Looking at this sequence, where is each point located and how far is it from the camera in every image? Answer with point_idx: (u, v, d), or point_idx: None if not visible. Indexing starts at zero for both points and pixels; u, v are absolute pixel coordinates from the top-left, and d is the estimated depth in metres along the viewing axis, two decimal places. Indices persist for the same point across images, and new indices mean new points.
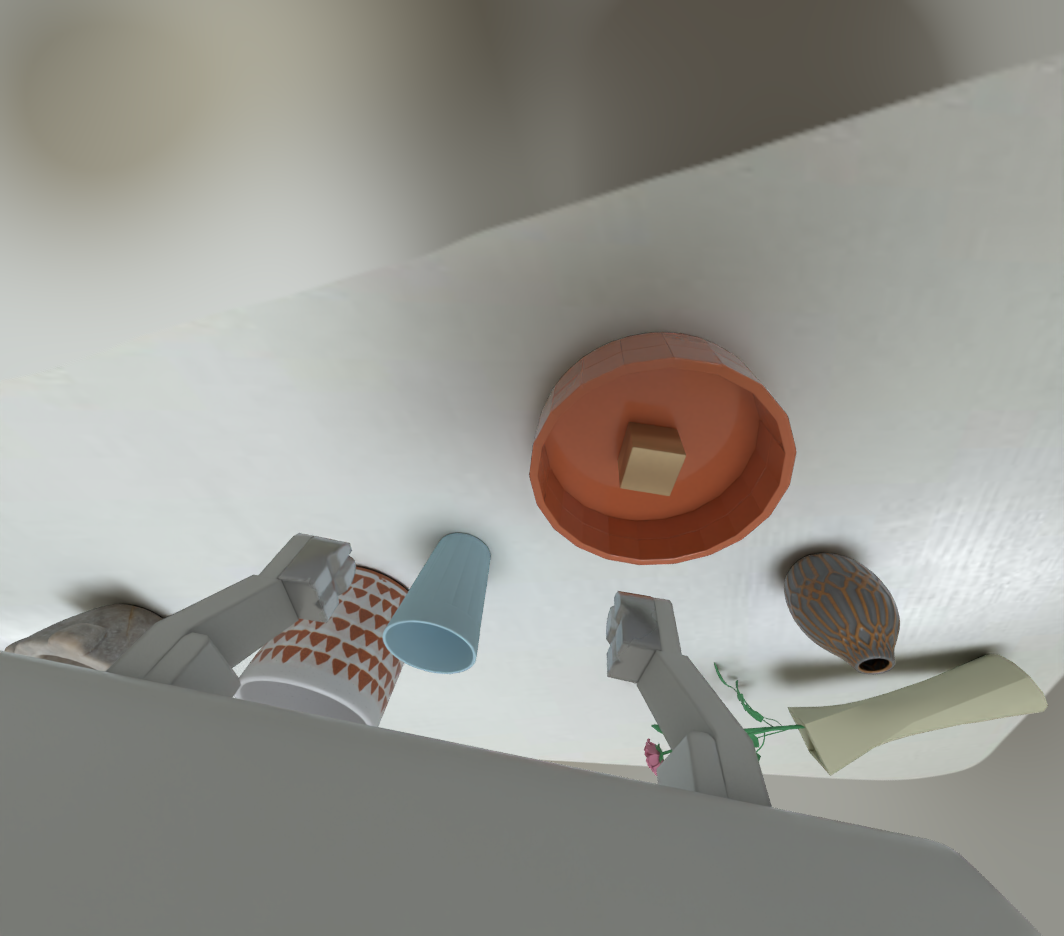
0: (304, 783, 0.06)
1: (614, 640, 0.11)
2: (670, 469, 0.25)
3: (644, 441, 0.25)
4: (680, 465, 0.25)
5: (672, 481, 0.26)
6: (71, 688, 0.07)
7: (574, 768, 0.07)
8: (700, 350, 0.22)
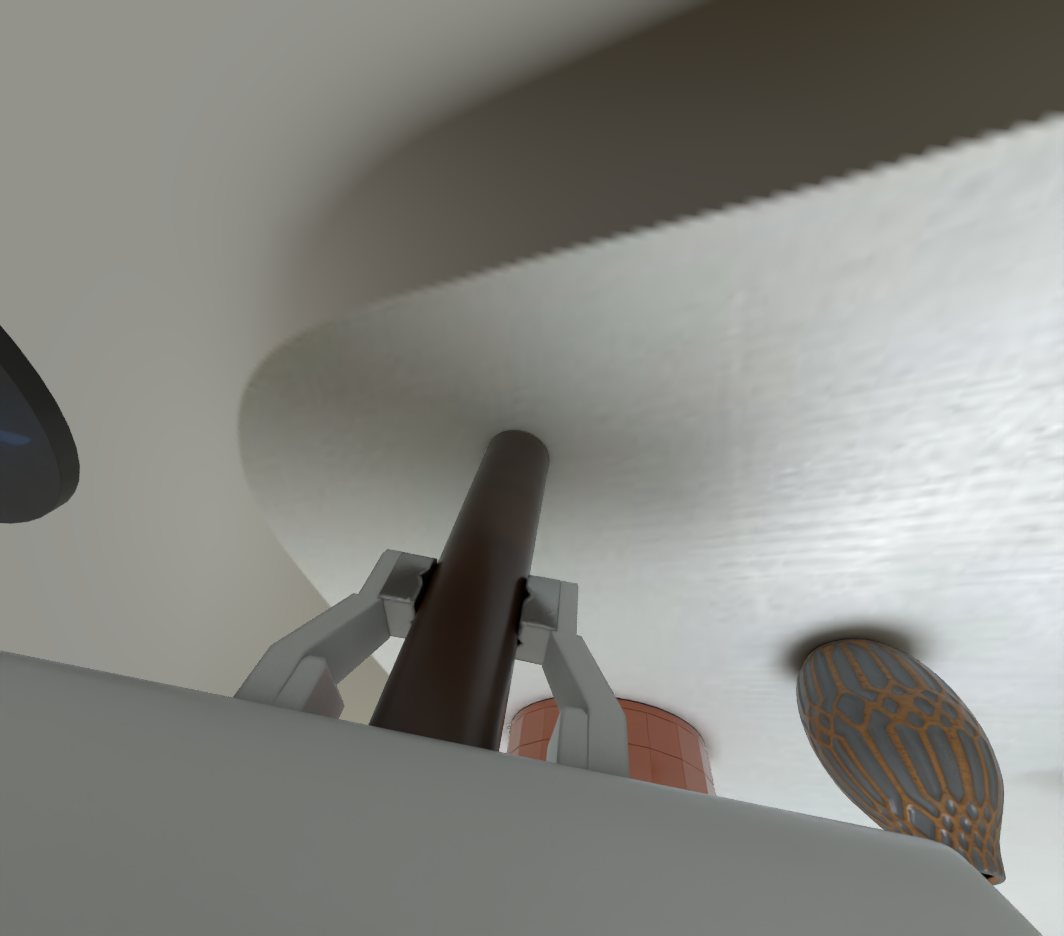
0: (305, 783, 0.06)
1: None
2: None
3: None
4: None
5: None
6: (71, 688, 0.07)
7: (574, 768, 0.07)
8: None
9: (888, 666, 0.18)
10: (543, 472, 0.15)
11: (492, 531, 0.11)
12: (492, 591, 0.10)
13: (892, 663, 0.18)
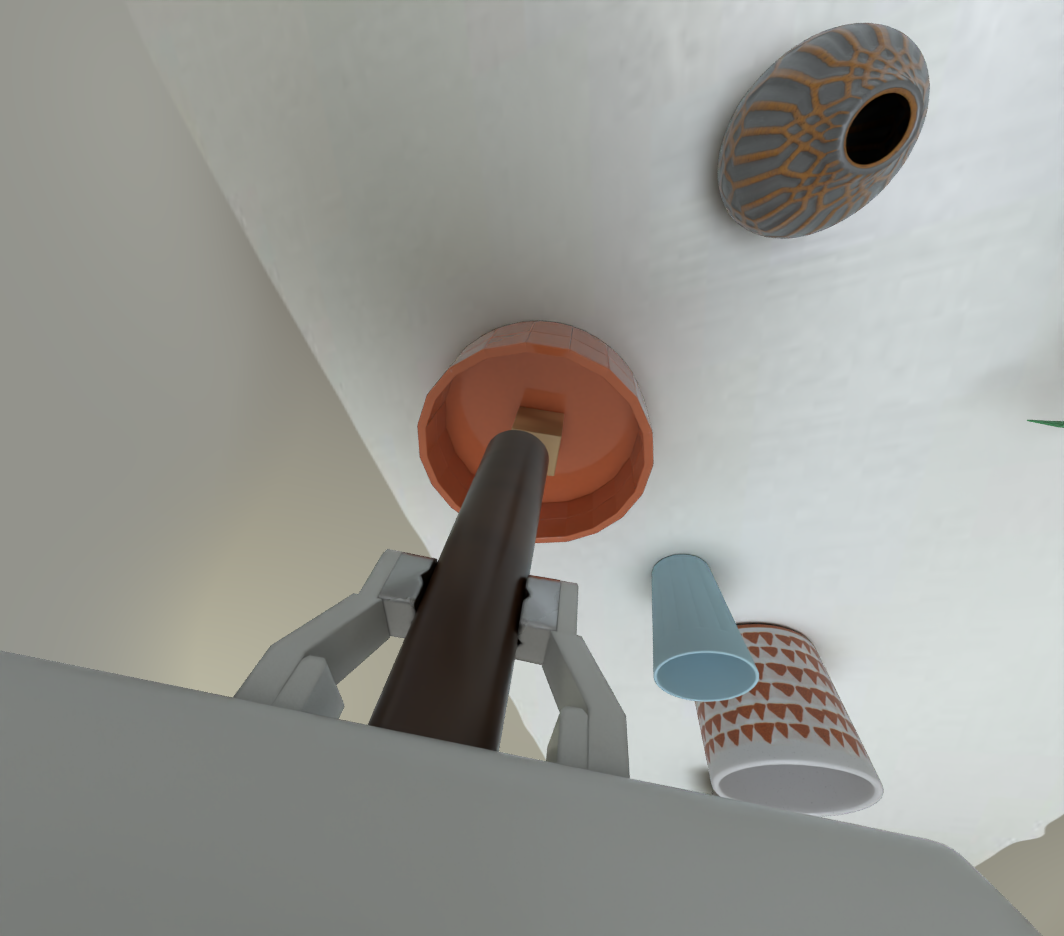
0: (304, 783, 0.06)
1: None
2: None
3: None
4: None
5: (542, 436, 0.26)
6: (71, 688, 0.07)
7: (574, 768, 0.07)
8: None
9: None
10: (543, 471, 0.15)
11: (492, 531, 0.11)
12: (492, 591, 0.10)
13: None
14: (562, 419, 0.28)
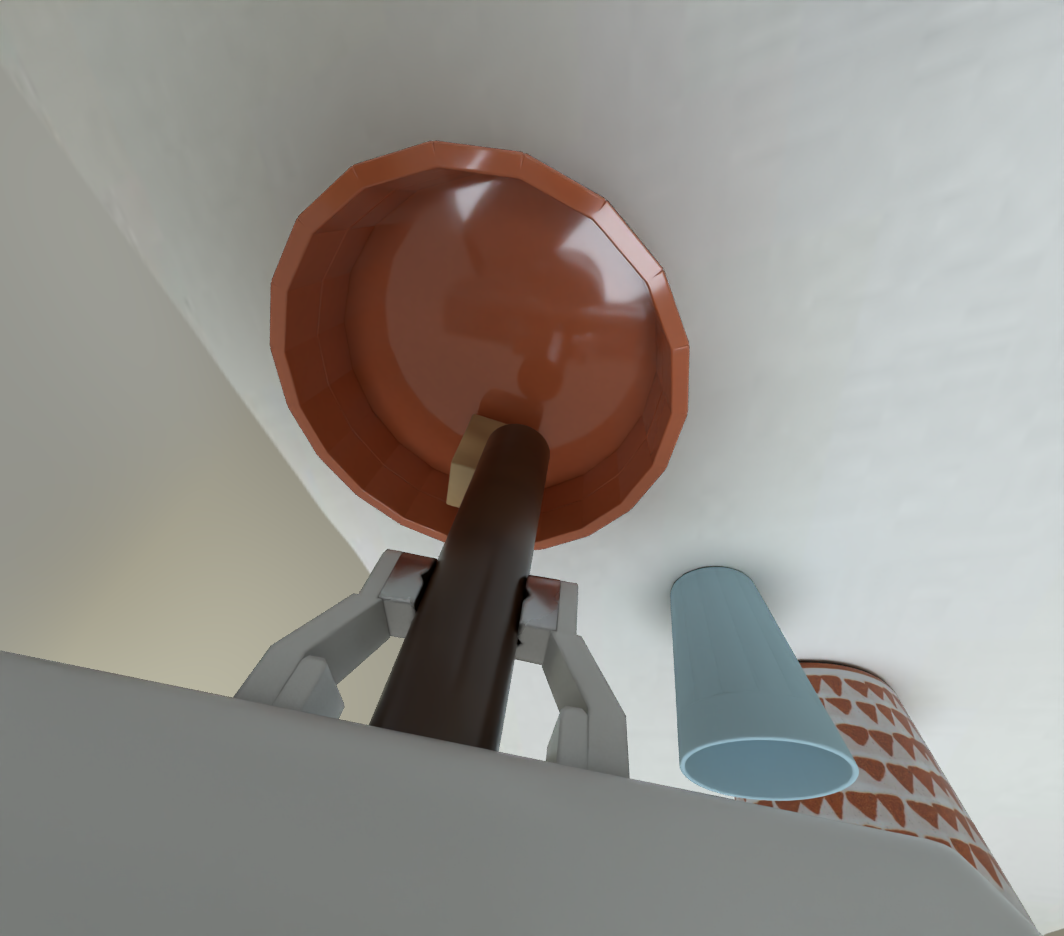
0: (305, 784, 0.06)
1: None
2: None
3: None
4: (468, 469, 0.17)
5: None
6: (71, 688, 0.07)
7: (574, 768, 0.07)
8: None
9: None
10: (544, 467, 0.15)
11: (492, 530, 0.11)
12: (491, 593, 0.10)
13: None
14: None
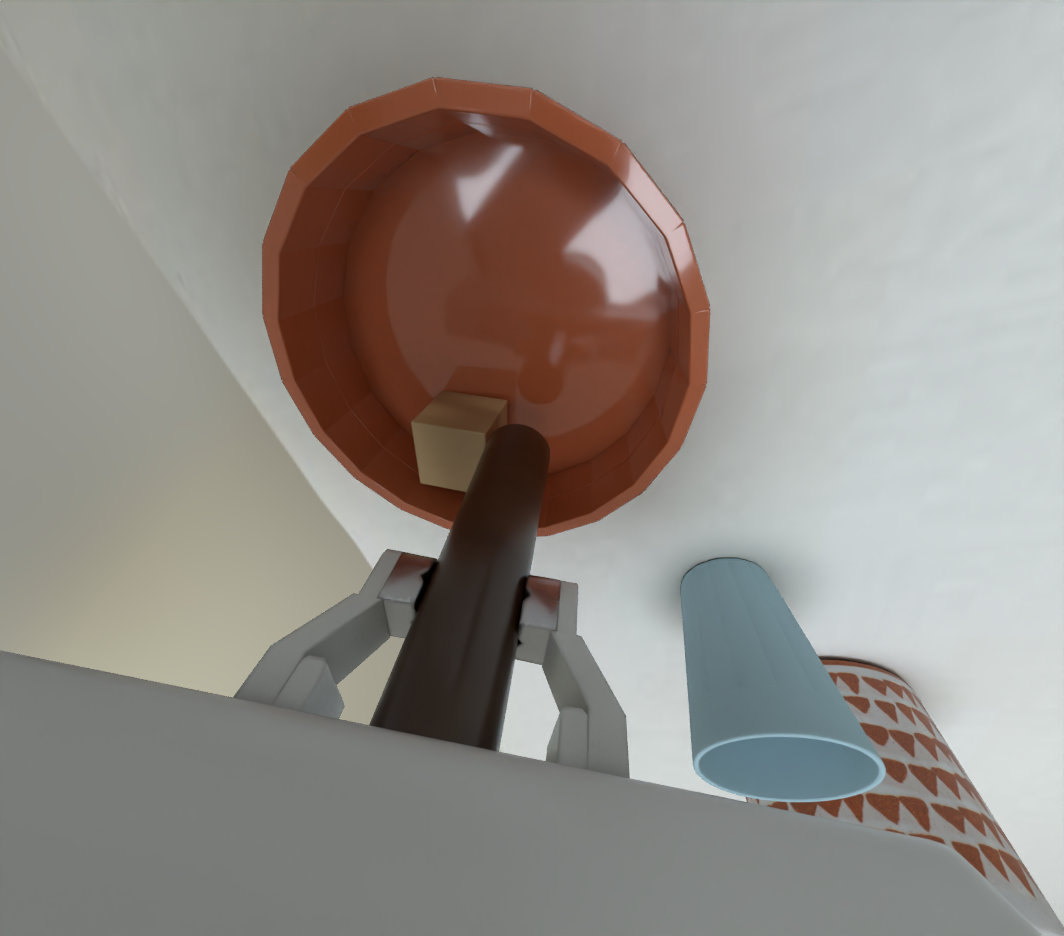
0: (305, 783, 0.06)
1: None
2: (437, 438, 0.17)
3: None
4: (428, 427, 0.17)
5: (457, 433, 0.17)
6: (71, 688, 0.07)
7: (574, 768, 0.07)
8: None
9: None
10: (544, 467, 0.15)
11: (492, 530, 0.11)
12: (492, 593, 0.10)
13: None
14: (500, 408, 0.18)
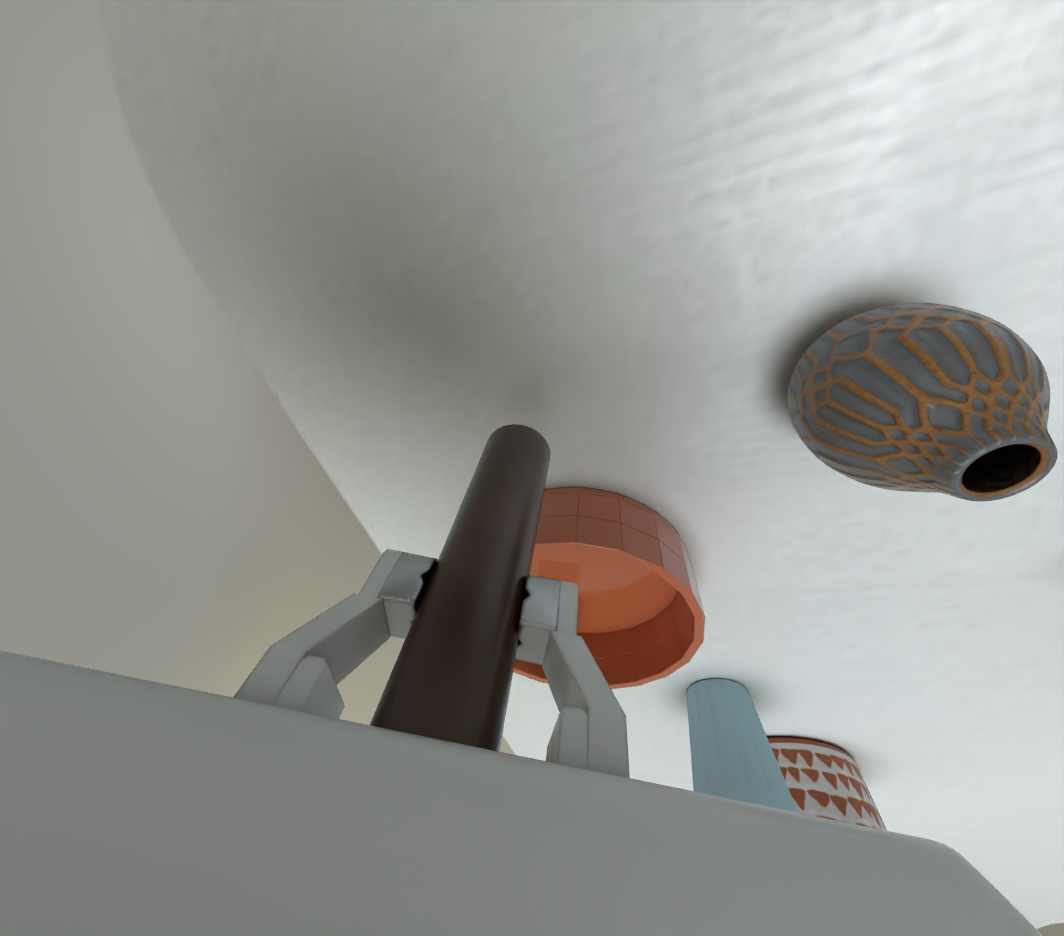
0: (304, 783, 0.06)
1: None
2: None
3: None
4: None
5: None
6: (71, 688, 0.07)
7: (574, 768, 0.07)
8: None
9: (898, 304, 0.15)
10: (544, 467, 0.15)
11: (492, 531, 0.11)
12: (492, 594, 0.10)
13: None
14: (577, 608, 0.30)
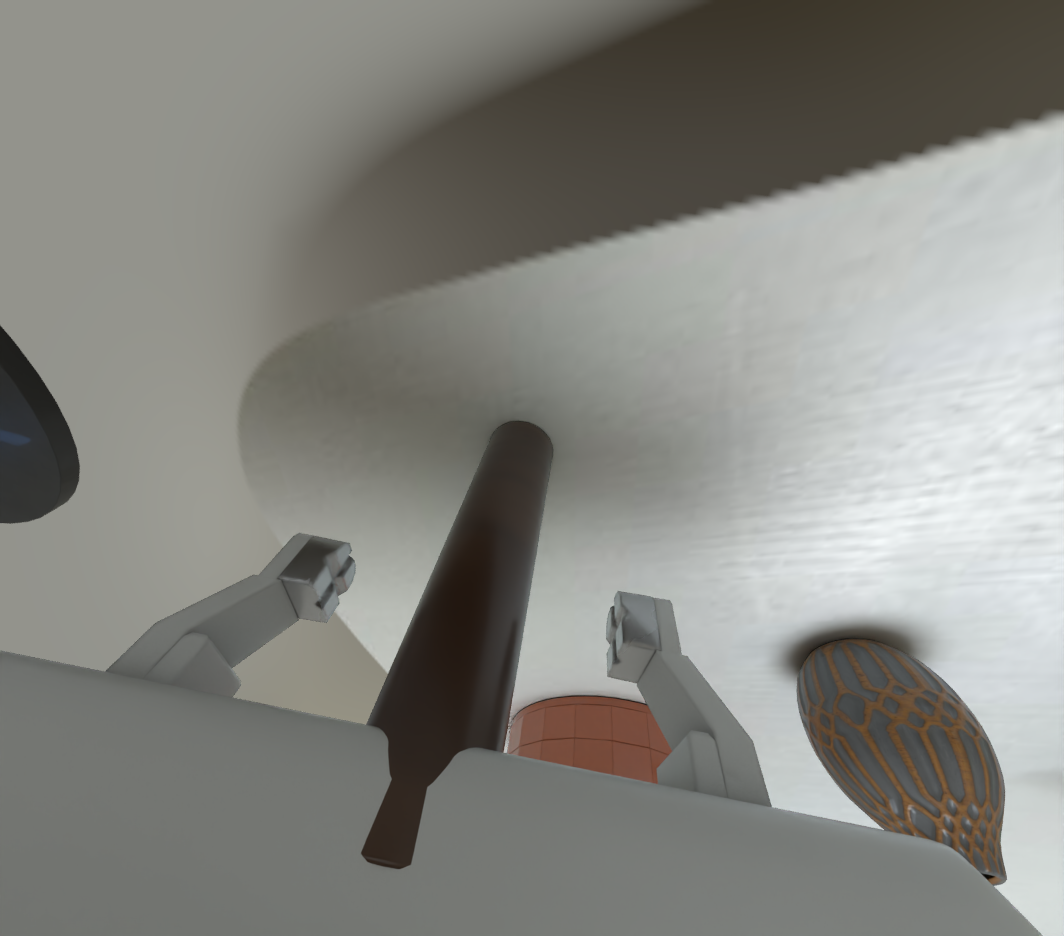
0: (304, 784, 0.06)
1: (614, 640, 0.11)
2: None
3: None
4: None
5: None
6: (71, 688, 0.07)
7: (574, 768, 0.07)
8: None
9: (889, 666, 0.18)
10: (547, 463, 0.15)
11: (496, 521, 0.11)
12: (497, 581, 0.09)
13: (893, 663, 0.18)
14: None
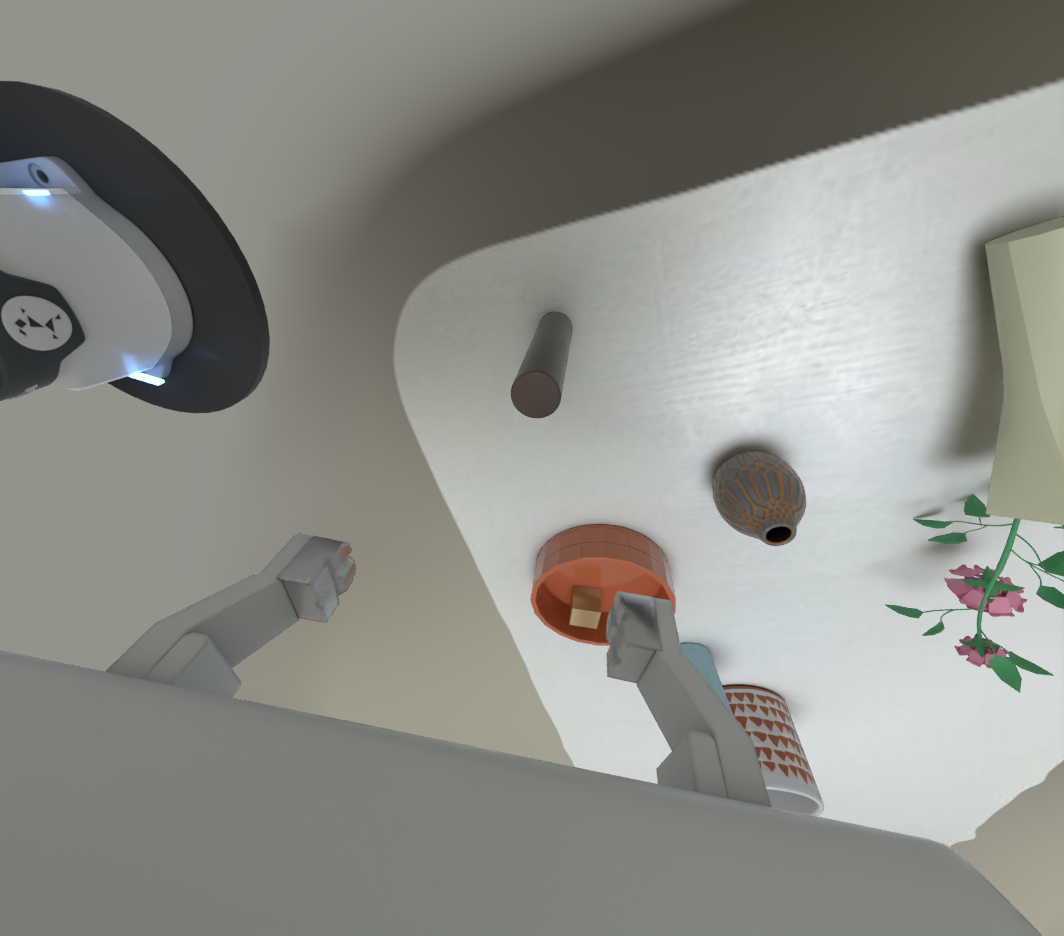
0: (305, 783, 0.06)
1: (614, 640, 0.11)
2: (581, 613, 0.47)
3: (570, 614, 0.49)
4: (579, 610, 0.46)
5: (590, 612, 0.46)
6: (71, 688, 0.07)
7: (574, 768, 0.07)
8: None
9: (755, 454, 0.33)
10: (570, 329, 0.30)
11: (552, 333, 0.26)
12: (556, 345, 0.24)
13: (758, 453, 0.33)
14: (600, 595, 0.48)
